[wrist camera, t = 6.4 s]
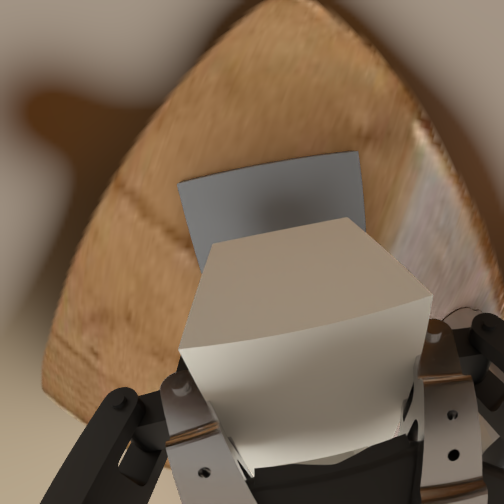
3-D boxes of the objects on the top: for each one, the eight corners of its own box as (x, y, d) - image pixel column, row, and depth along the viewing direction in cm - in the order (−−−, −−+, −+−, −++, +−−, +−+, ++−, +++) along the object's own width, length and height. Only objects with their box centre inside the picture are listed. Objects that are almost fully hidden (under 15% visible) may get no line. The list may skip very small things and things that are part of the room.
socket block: (347, 217, 10) (433, 294, 5) (350, 391, 14) (375, 473, 9) (212, 243, 11) (177, 349, 5) (264, 409, 15) (268, 494, 9)
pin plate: (352, 150, 20) (387, 155, 14) (362, 299, 25) (386, 338, 19) (180, 181, 21) (154, 196, 15) (221, 324, 26) (214, 370, 20)
